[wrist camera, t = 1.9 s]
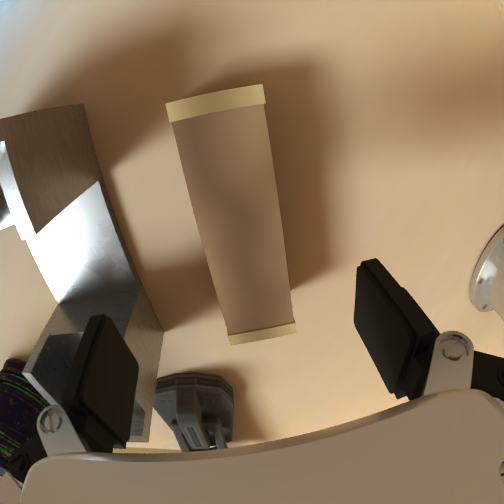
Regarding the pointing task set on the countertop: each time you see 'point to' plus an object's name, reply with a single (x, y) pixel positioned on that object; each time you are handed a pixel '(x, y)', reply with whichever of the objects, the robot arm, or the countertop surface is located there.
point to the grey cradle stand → (74, 250)
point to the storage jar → (17, 410)
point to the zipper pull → (196, 409)
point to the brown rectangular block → (236, 208)
